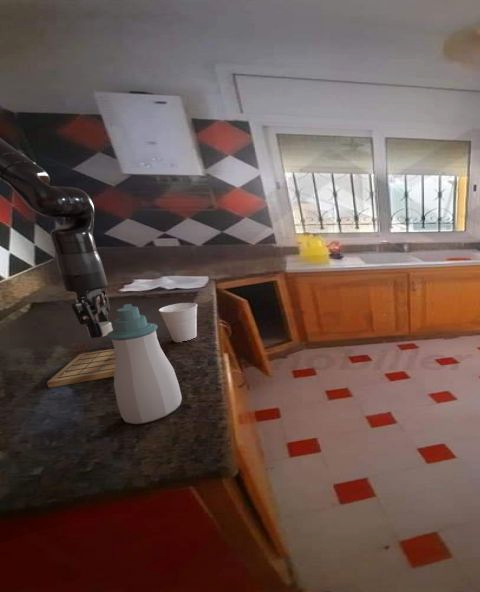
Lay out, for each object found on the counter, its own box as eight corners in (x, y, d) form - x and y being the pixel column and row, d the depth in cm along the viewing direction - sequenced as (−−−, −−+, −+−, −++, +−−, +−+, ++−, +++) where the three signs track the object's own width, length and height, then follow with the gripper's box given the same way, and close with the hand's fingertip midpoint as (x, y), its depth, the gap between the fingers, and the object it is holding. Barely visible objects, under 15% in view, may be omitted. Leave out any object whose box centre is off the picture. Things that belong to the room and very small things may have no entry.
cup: (171, 335, 105) (164, 304, 102) (206, 331, 109) (200, 301, 106) (161, 347, 97) (153, 313, 94) (199, 342, 100) (193, 309, 97)
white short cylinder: (86, 339, 81) (82, 328, 80) (93, 332, 84) (90, 323, 84) (109, 335, 83) (107, 325, 82) (116, 330, 87) (113, 320, 86)
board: (48, 388, 75) (46, 381, 74) (81, 358, 89) (79, 353, 89) (140, 371, 82) (139, 366, 82) (157, 347, 97) (156, 342, 96)
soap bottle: (179, 392, 73) (158, 298, 67) (185, 412, 66) (162, 309, 60) (122, 409, 67) (93, 308, 61) (122, 433, 60) (88, 321, 54)
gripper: (75, 266, 83) (93, 327, 88) (45, 277, 71) (68, 346, 76) (113, 264, 87) (128, 322, 91) (90, 274, 74) (109, 340, 79)
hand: (101, 333), depth 83 cm, fingers closed on white short cylinder, 4 cm apart
